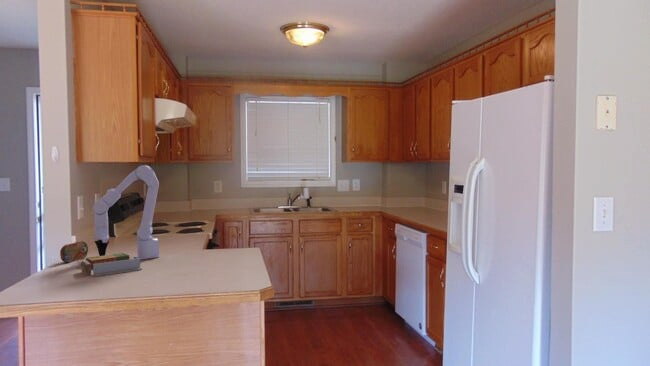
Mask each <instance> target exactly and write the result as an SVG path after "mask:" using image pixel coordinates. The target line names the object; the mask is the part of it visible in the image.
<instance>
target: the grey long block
mask: <svg viewBox="0 0 650 366" xmlns="http://www.w3.org/2000/svg"><path fill="white" fill-rule="evenodd" d="M142 270H143V269H142V267H141V260H140V258H130V259H129V260H121V261H113V262H106V263H98V264H93V269H92V271H93V276H94V277H102V276H109V275H116V274H121V273H129V272H135V271H136V272H139V271H142Z"/></svg>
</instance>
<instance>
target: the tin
mask: <svg viewBox="0 0 650 366" xmlns="http://www.w3.org/2000/svg"><path fill="white" fill-rule="evenodd" d="M88 251H89V247H88V244H87V243H86V242H85V241H83V240H82V241H76V242H70V243H67V244H64V245H63V246H62V247H61V249H60V250H59V254H60V260H61V261H62V262H64V263H74V262H77V261H80V260H85V259H86V258H87V255H88V253H89V252H88Z"/></svg>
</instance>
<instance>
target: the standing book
mask: <svg viewBox="0 0 650 366" xmlns="http://www.w3.org/2000/svg"><path fill="white" fill-rule="evenodd" d="M81 260H82V261H81V271H82V273H83V274H84V275H85V277H89V276H90V277H91V276H92V269H91V264H90V263H89V262H88V261H87V260H86V259H81Z"/></svg>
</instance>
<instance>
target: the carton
mask: <svg viewBox="0 0 650 366" xmlns="http://www.w3.org/2000/svg"><path fill="white" fill-rule="evenodd" d="M129 259H131V258H130V255H129V254H127V253H124V252H120V253H113V254H112V253H111V254H105V255H104V256H99V255H97V256H90V257H85V260H87V261H88V262H89V263H90V264H91V270H93V264H98V263H106V262H113V261H121V260H129Z"/></svg>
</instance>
